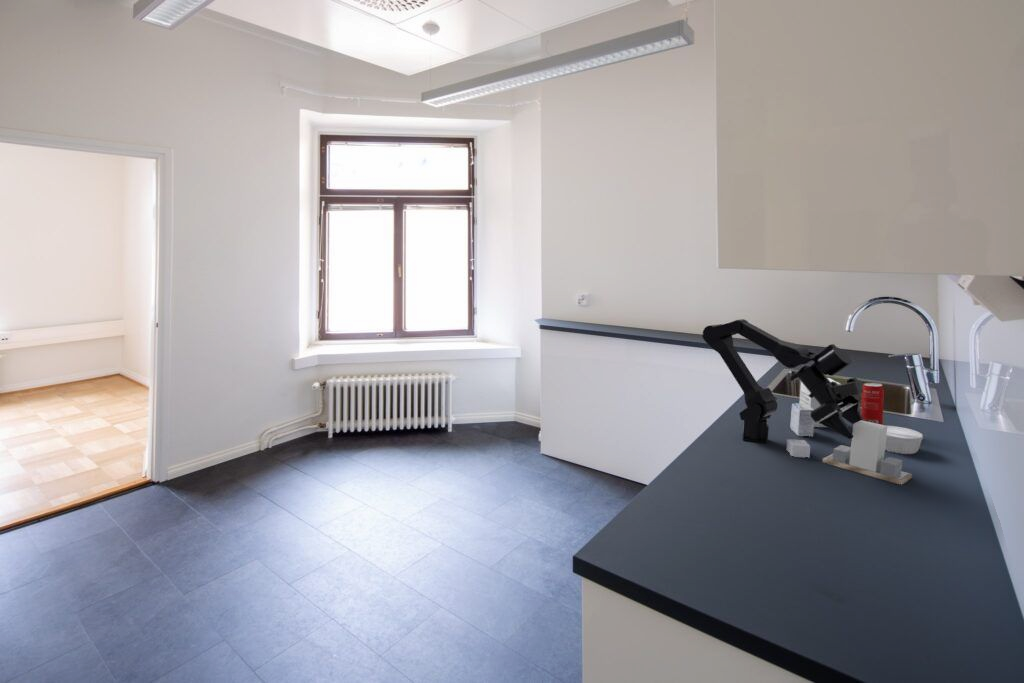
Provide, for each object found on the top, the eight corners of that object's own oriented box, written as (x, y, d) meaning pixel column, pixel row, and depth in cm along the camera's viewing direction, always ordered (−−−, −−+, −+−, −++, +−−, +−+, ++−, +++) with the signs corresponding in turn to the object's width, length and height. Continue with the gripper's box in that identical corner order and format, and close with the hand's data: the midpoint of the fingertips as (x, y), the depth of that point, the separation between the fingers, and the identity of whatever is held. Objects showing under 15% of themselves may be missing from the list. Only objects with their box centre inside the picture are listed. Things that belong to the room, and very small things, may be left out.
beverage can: (886, 432, 165) (891, 386, 163) (865, 431, 165) (870, 386, 163) (873, 426, 171) (878, 381, 169) (853, 426, 171) (858, 381, 169)
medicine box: (813, 437, 160) (815, 410, 159) (797, 436, 161) (800, 409, 160) (804, 429, 168) (806, 403, 167) (789, 428, 169) (791, 402, 167)
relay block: (791, 457, 145) (792, 445, 144) (786, 450, 150) (787, 439, 149) (809, 458, 144) (810, 446, 143) (803, 451, 149) (804, 440, 148)
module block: (849, 464, 136) (853, 423, 134) (856, 459, 139) (861, 420, 137) (875, 471, 131) (880, 429, 130) (882, 466, 134) (887, 425, 133)
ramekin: (890, 455, 145) (892, 437, 145) (864, 442, 156) (866, 425, 156) (931, 456, 145) (933, 438, 144) (902, 442, 156) (904, 425, 155)
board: (822, 462, 140) (822, 458, 140) (833, 456, 145) (833, 453, 144) (901, 485, 126) (902, 481, 126) (911, 477, 130) (912, 474, 130)
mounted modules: (832, 459, 139) (833, 448, 139) (840, 455, 142) (841, 444, 142) (894, 476, 128) (895, 465, 128) (901, 471, 131) (902, 460, 131)
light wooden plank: (825, 458, 140) (825, 458, 140) (835, 454, 144) (835, 453, 144) (900, 479, 127) (900, 479, 127) (908, 473, 130) (909, 473, 130)
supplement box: (825, 419, 178) (829, 377, 176) (837, 428, 169) (842, 383, 167) (797, 418, 179) (800, 376, 177) (808, 427, 170) (812, 382, 168)
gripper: (828, 373, 132) (873, 426, 125) (857, 364, 143) (900, 412, 136) (793, 396, 139) (833, 447, 132) (824, 386, 150) (862, 433, 143)
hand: (859, 434), depth 136 cm, fingers open, 9 cm apart
